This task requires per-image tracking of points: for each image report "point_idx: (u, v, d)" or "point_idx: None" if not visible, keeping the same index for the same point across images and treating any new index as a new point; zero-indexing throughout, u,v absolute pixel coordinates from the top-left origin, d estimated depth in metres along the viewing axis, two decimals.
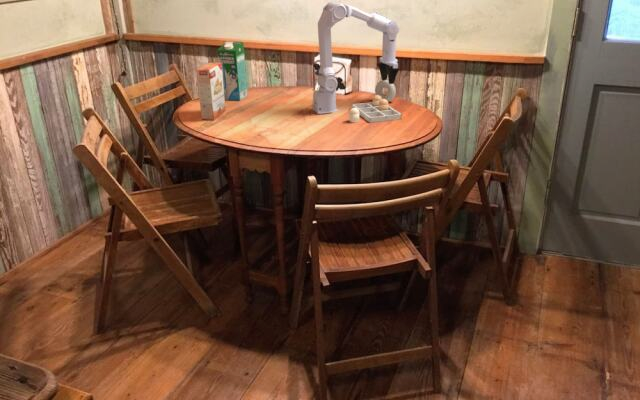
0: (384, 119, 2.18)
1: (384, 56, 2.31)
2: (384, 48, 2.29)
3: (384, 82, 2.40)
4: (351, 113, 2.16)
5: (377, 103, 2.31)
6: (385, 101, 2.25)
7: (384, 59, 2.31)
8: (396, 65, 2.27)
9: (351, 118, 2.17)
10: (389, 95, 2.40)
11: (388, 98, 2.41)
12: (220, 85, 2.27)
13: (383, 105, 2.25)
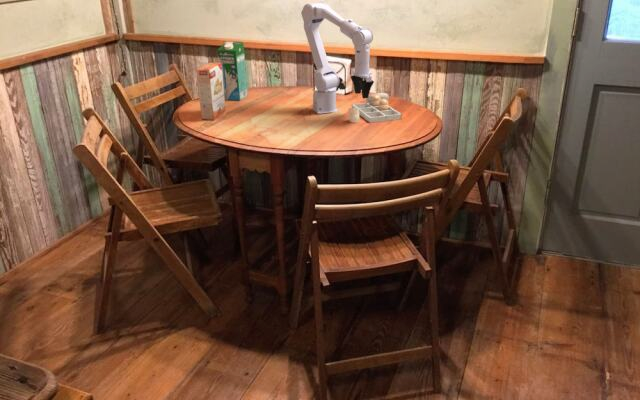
0: (384, 119, 2.18)
1: (357, 68, 2.13)
2: None
3: None
4: (351, 113, 2.16)
5: (377, 103, 2.31)
6: (385, 101, 2.25)
7: (357, 72, 2.13)
8: (370, 78, 2.10)
9: (351, 118, 2.17)
10: None
11: None
12: (220, 85, 2.27)
13: (383, 105, 2.25)
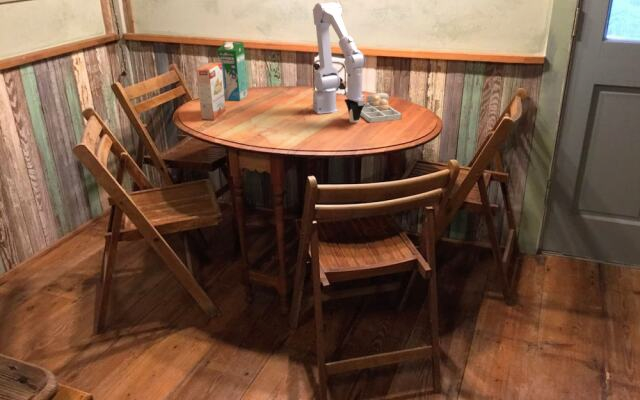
0: (384, 119, 2.18)
1: (349, 92, 2.12)
2: None
3: None
4: (351, 113, 2.16)
5: (377, 103, 2.31)
6: (385, 101, 2.25)
7: (349, 95, 2.13)
8: (362, 102, 2.09)
9: (351, 118, 2.17)
10: None
11: None
12: (220, 85, 2.27)
13: (383, 105, 2.25)
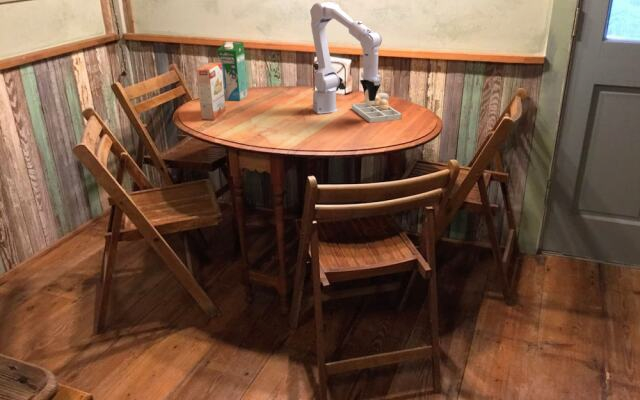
0: (384, 119, 2.18)
1: (365, 72, 2.10)
2: None
3: None
4: (367, 93, 2.14)
5: (377, 103, 2.31)
6: (385, 101, 2.25)
7: (365, 75, 2.11)
8: (378, 82, 2.07)
9: (367, 99, 2.15)
10: None
11: None
12: (220, 85, 2.27)
13: (383, 105, 2.25)
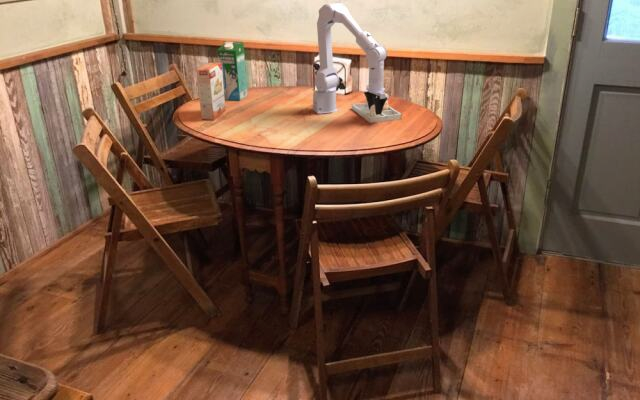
0: (384, 119, 2.18)
1: (371, 85, 2.13)
2: None
3: None
4: (372, 110, 2.18)
5: None
6: None
7: (371, 88, 2.14)
8: (383, 95, 2.10)
9: (372, 115, 2.19)
10: None
11: None
12: (220, 85, 2.27)
13: None
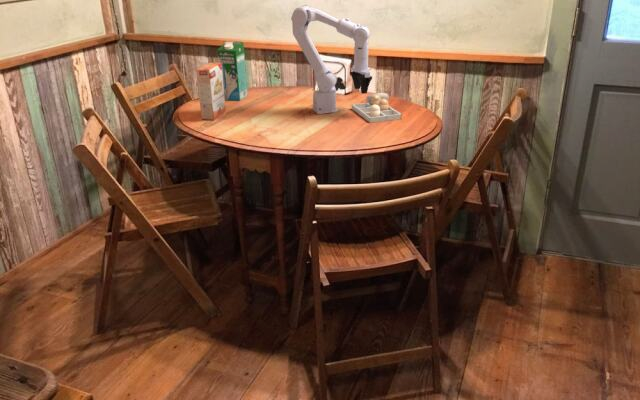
0: (384, 119, 2.18)
1: (356, 64, 2.20)
2: (354, 55, 2.20)
3: None
4: (372, 110, 2.18)
5: (377, 103, 2.31)
6: (385, 101, 2.25)
7: (356, 68, 2.21)
8: (368, 74, 2.17)
9: (372, 115, 2.19)
10: None
11: None
12: (220, 85, 2.27)
13: (383, 105, 2.25)
